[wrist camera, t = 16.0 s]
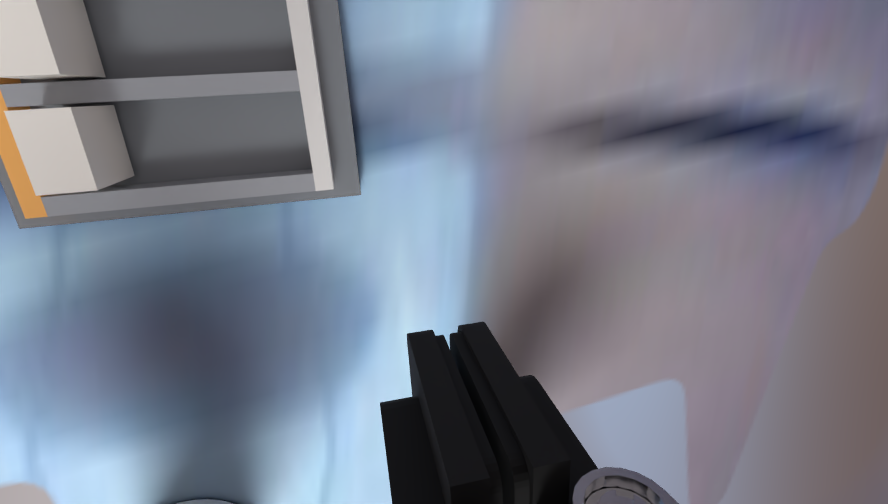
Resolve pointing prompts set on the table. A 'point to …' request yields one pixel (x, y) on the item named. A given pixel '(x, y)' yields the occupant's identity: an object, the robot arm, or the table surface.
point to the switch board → (202, 109)
